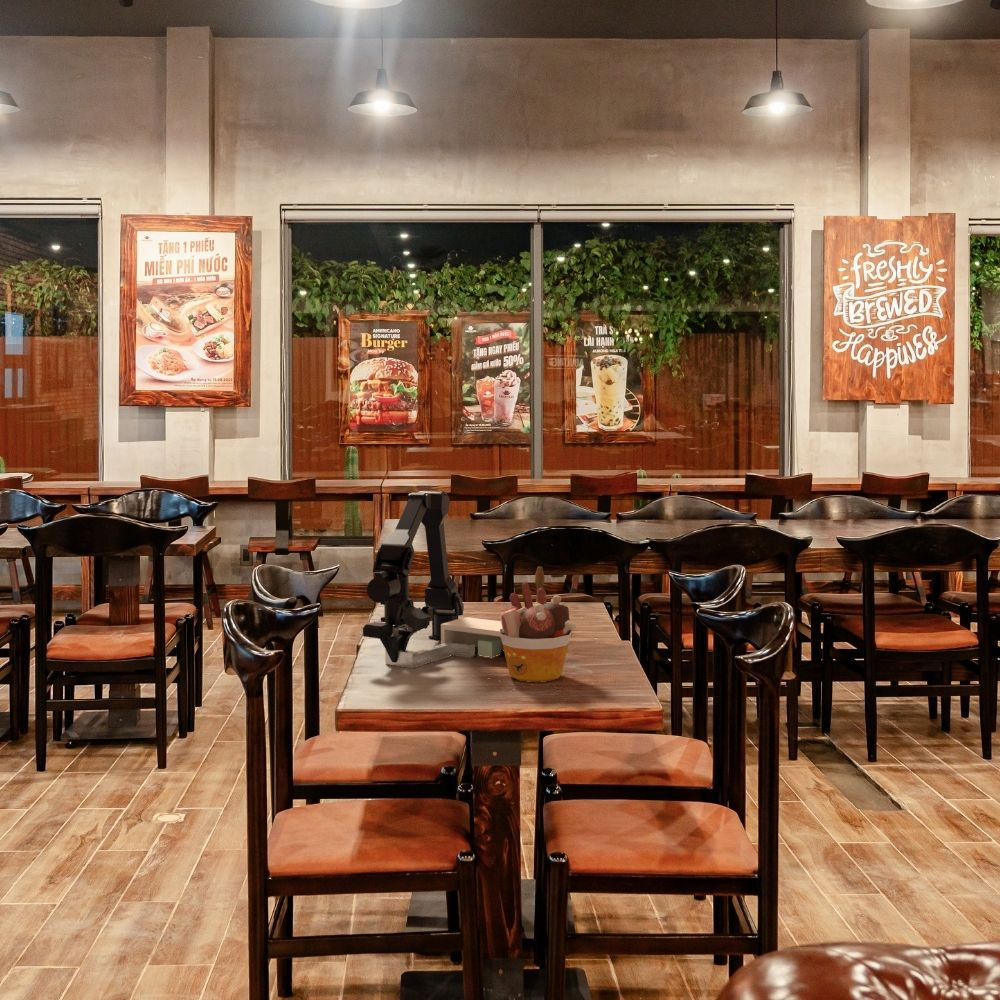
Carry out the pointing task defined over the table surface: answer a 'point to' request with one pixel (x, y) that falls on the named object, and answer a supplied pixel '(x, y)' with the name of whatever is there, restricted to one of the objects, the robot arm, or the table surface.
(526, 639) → the bucket of meat
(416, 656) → the pale grey angled bracket
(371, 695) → the table surface
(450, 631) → the low cubby
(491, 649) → the mint cube
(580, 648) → the table surface
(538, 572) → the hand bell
